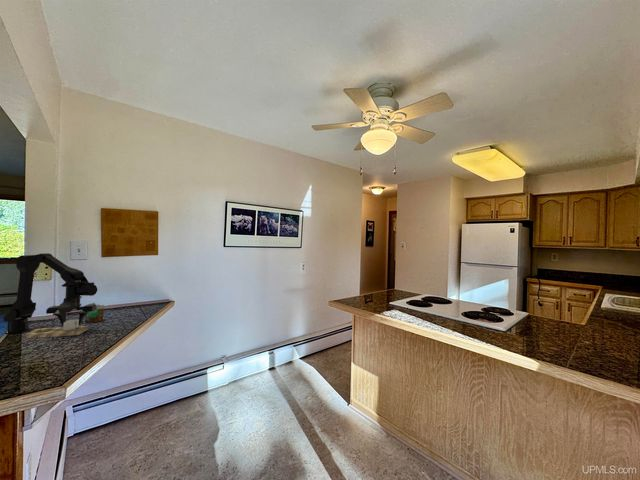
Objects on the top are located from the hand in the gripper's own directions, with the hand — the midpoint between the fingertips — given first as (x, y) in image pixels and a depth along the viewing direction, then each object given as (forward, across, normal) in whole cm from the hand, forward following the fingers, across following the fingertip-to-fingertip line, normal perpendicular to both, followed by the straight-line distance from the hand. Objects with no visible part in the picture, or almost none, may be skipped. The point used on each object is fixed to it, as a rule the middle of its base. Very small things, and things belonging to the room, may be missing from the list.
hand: (71, 325), depth 138 cm
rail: (+4, -6, 0) cm, 7 cm away
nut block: (+4, 0, 0) cm, 4 cm away
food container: (+4, +1, +21) cm, 21 cm away
